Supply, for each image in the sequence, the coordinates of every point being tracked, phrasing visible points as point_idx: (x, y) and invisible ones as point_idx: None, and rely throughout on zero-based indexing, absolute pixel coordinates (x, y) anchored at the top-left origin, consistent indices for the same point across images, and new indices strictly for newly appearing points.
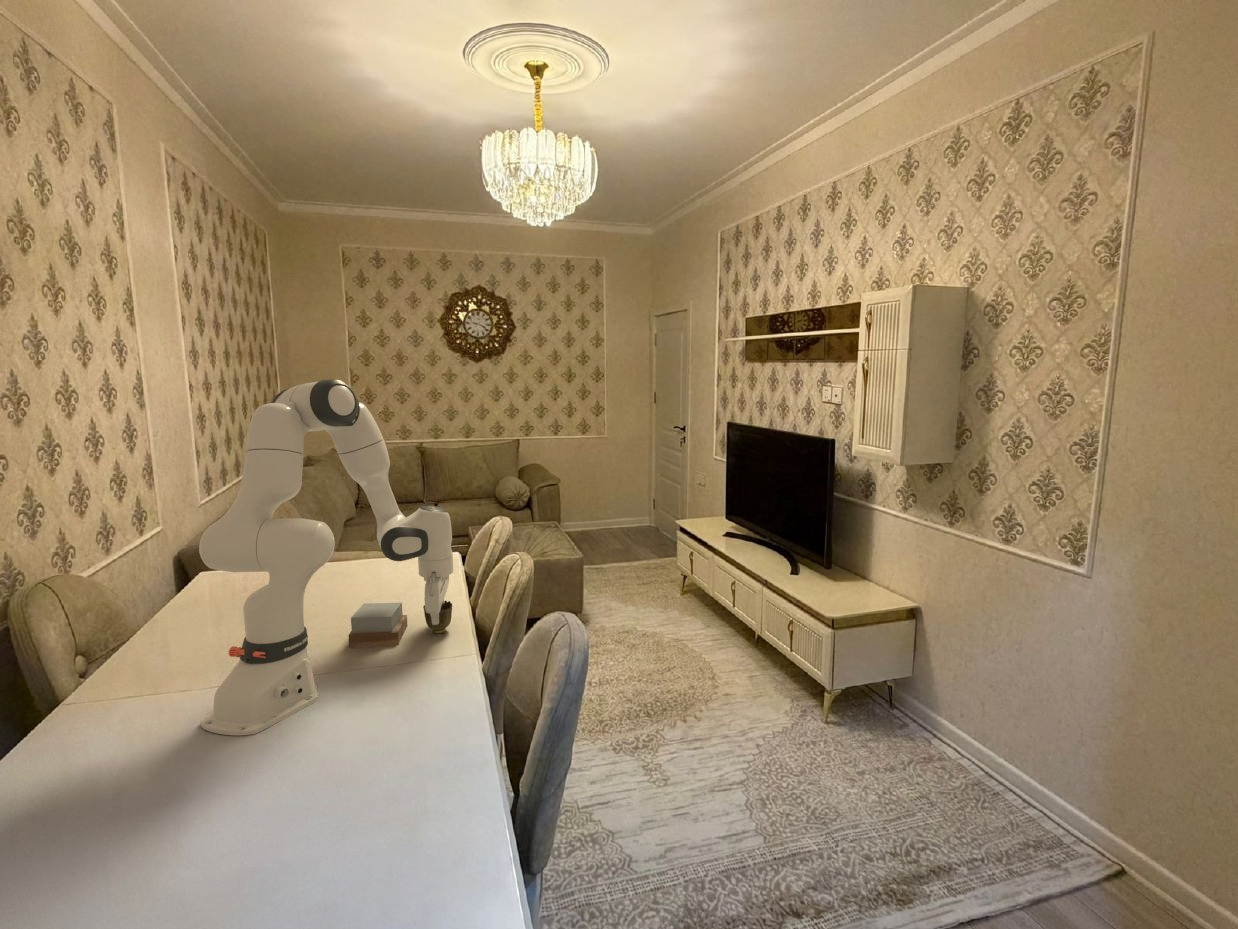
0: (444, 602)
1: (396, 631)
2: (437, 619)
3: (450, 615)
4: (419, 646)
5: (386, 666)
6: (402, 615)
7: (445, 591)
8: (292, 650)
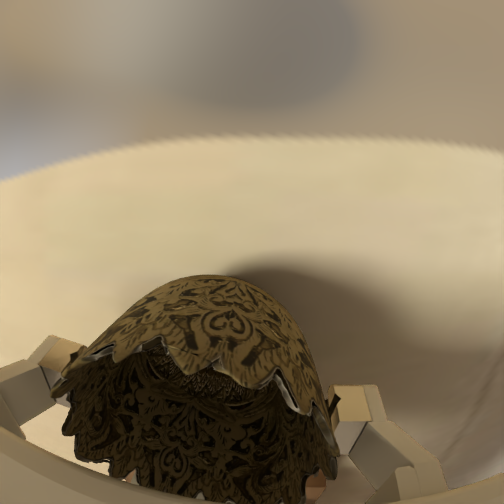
0: (64, 391)
1: (312, 490)
2: (382, 418)
3: (250, 314)
4: (370, 384)
5: (463, 434)
6: (134, 472)
7: (6, 477)
8: None
